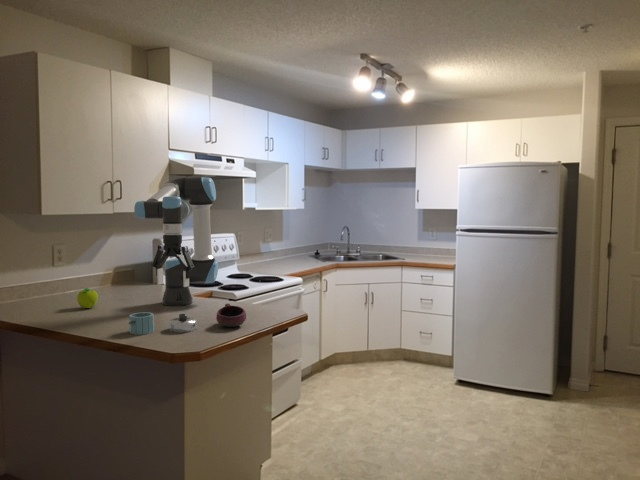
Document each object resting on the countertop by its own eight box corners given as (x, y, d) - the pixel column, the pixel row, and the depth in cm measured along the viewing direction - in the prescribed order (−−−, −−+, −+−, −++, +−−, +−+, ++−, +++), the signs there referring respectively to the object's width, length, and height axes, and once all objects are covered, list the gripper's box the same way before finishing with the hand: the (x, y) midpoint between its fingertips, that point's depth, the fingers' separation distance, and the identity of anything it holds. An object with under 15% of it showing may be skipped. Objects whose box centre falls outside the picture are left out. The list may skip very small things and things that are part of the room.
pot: (144, 326, 226) (143, 310, 225) (161, 329, 222) (161, 312, 222) (121, 334, 214) (121, 317, 213) (139, 336, 210) (139, 319, 210)
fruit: (75, 310, 256) (75, 290, 255) (80, 306, 265) (79, 286, 264) (96, 309, 258) (95, 289, 257) (99, 305, 267) (99, 286, 266)
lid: (180, 325, 229) (180, 310, 229) (202, 328, 225) (201, 313, 224) (164, 331, 219) (163, 316, 219) (185, 334, 215) (185, 318, 214)
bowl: (252, 326, 227) (252, 308, 227) (227, 332, 218) (227, 312, 218) (230, 320, 239) (229, 302, 238) (205, 325, 229) (205, 306, 229)
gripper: (142, 233, 221) (143, 284, 222) (191, 235, 210) (191, 288, 212) (155, 232, 227) (156, 281, 229) (202, 234, 217) (203, 286, 218)
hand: (173, 285), depth 220 cm, fingers open, 13 cm apart
